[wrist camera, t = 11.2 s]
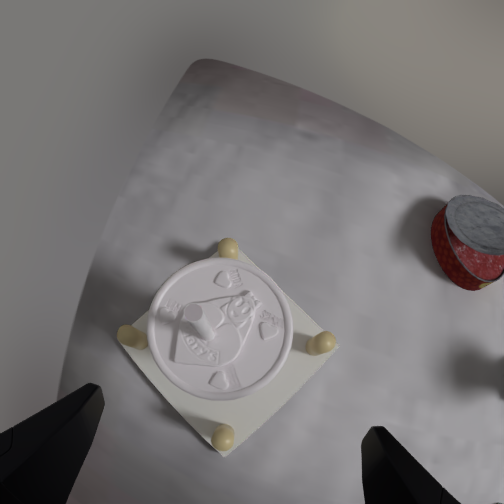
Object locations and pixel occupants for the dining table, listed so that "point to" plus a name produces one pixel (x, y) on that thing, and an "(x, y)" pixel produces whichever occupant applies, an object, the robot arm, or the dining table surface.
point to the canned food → (470, 241)
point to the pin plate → (247, 408)
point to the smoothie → (219, 329)
